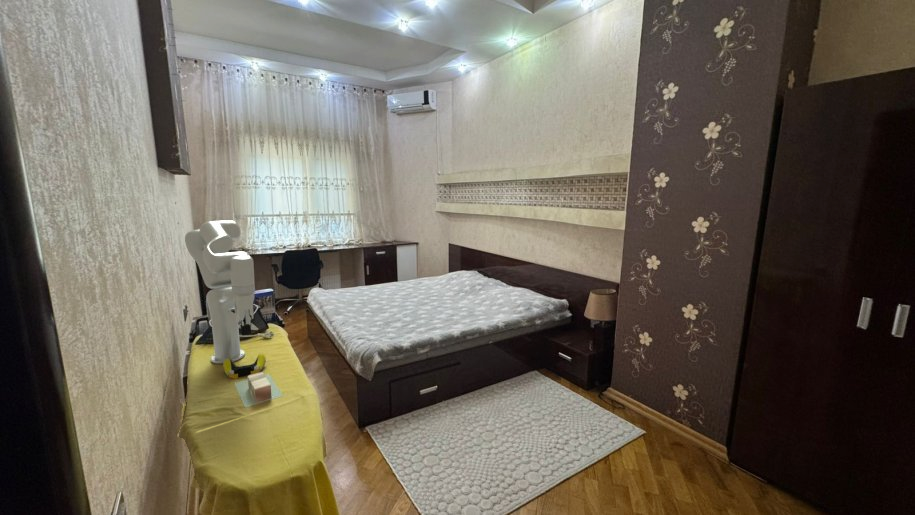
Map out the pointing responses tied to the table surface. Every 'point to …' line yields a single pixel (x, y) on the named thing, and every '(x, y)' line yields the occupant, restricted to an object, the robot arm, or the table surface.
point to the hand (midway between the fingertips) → (246, 333)
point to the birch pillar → (259, 387)
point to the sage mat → (247, 396)
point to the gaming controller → (244, 367)
